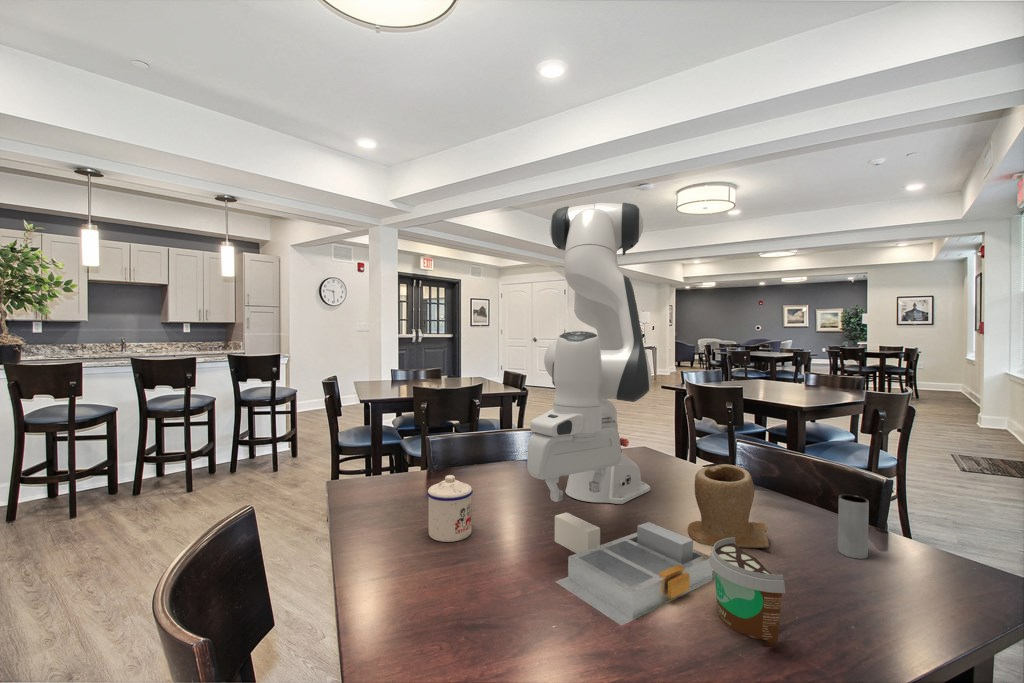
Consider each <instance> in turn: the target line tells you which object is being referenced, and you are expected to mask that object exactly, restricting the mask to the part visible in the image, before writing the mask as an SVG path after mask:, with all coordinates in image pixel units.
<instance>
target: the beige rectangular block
mask: <svg viewBox="0 0 1024 683" xmlns="http://www.w3.org/2000/svg"><path fill="white" fill-rule="evenodd" d="M554 542H555V543H557V544H558V545H560V546H563V547H564V548H566V549H568V550H570V551H571V552H572V553H574V554H577V553H579V552H582V551H585V550H588V549H591V548H594V547H597V546H599V545H601V527H599V526H597V525H594V524H593V523H590V522H588V521H586V520H584V519H582V518H579V517H577V516H575V515H573V514H572V513H569V512H562V513H560V514H556V515H554Z"/></svg>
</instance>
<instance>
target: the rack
mask: <svg viewBox="0 0 1024 683" xmlns="http://www.w3.org/2000/svg"><path fill="white" fill-rule="evenodd" d="M709 559H710V555H708V554H706V553H704V552H701V551H699V550H696V549H694V548H693V560H692V561H689V562H687V563H685V564H681V563H679V562H677V561H675V560H673V559H670V558H668V557H666V556H664V555H662V554H660V553H657V552H655V551H653V550H651V549H649V548H646V547H644V546H642V545H640V544H638V543H637V532H634V533H631V534H628V535H625V536H623V537H620V538H617V539H614V540H612V541H611V540H610V541H609V542H605V543H602V544H600V545H599V546H597V547H594V548H591V549H588V550H585V551H582V552H579V553H577V554H576V553H574V554H571V555H569V556H568V558H567V560H568V562H567V566H568V568H567V574H568V575H567V576H566V577H564V578H561V579H558V580H555V583H556V584H558V585H559V586H561V587H562V588H563V589H565V590H567V591H568V592H570V593H572V594H573V595H575V597H577V598H579V599H580V600H582V601H583V602H584V603H587V604H588V605H590V606H591V607H593V608H594V609H595V610H597V611H598V612H600V613H602V614H603V615H604V616H606V617H608V618H609V619H610V620H612V621H614V623H617V624H618V625H619V626H622V627H623V626H624V625H626V624H628V623H630V622H632V621H634V620H636V619H638V618H640V617H642V616H643V615H646V614H649V613H650V612H652V611H654V610H656V609H658V608H660V607H662V606H664V605H666V604H668V603H670V602H672V601H674V600H676V599H678V598H680V597H682V596H685V595H686V594H689V593H691V592H693V591H694V590H696V589H698V588H700V587H701V586H704V585H707V584H708V583H710V582H712V581H715V571H714V570H713V569H712V568H711V566H710V564H709Z"/></svg>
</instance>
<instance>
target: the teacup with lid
mask: <svg viewBox="0 0 1024 683" xmlns="http://www.w3.org/2000/svg"><path fill="white" fill-rule="evenodd" d="M426 493H427V494H426V495H427V497H428V536H429V537H430V538H431V539H433V540H435V541H437V542H443V543H444V542H445V543H446V542H447V543H451V542H459V541H462V540H465V539H466V538H468V537H469V536H471V534H472V494H473V493H474V492H473V488H472V486H471V485H470V484H468V483H466V482H461V481H459V480H457V479H456V477H455V476H454V475H452V474H449V475H445V477H444V480H442V481H440V482H439V483H436V484H433V485H431V486H430V487H429V488H428V490H427V492H426Z"/></svg>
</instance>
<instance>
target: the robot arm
mask: <svg viewBox="0 0 1024 683" xmlns="http://www.w3.org/2000/svg"><path fill="white" fill-rule="evenodd" d="M643 230H644V218H643V215H642V213H641V211H640V208H639V206H638V205H636V204H634V203H629V202H622V203H615V202H611V203H610V202H596V203H590V204H581V205H576V206H575V205H574V206H571V207H570V206H569V205H567V206H563V207H559V208H557V209H556V210H555V211H554V212H553V213H552V216H551V220H550V222H549V236H550V238H551V242H552V244H553V245H554V246H555V248H557V249H558V250H561V251H564V259H563V260H564V278H565V281H566V283H567V284H568V286H569V287H570V289H572V290H573V291H574V306H573V307H574V309H573V312H574V315H575V317H576V318H577V319H578V320H579V321H580V322H582V323H584V324H586V325H588V326H589V327H591V328H594V329H595V330H596V332H597V333H594V332H590V331H567V332H563V333H562V334H560V335H559V336H558V337H557V341H553V342H551V343H550V344H549V345H548V347H547V348H546V351H545V353H544V358H543V360H544V361H543V362H544V363H543V364H544V368H545V370H546V372H547V374H548V375H549V376H550V377H551V379H552V380H551V381H552V382H551V383H552V385H553V386H554V388H555V389H554V390H555V392H554V393H555V394H554V399H553V401H552V406H553V407H552V409H550V410H548V411H546V412H545V413H543V414H540V415H538V416H537V417H534V418H533V419H531V421H530V423H529V426H530V431H531V432H534V433H532V434H531V436H530V438H529V441H528V447H527V459H526V463H527V473H529V475H530V476H531V477H534V478H535V479H539V480H542V481H543V480H544V482H545V483H546V485H547V487H548V489H549V491H550V492H549V493H550V496H549V497H550V500H551V501H553V502H555V503H556V502H561V501H563V500H564V497H563V496H564V491H563V490H561V489H559V486H558V483H559V481H560V477H564V476H568V479H567V481H566V488H565V494H566V495H567V496H568V497H570V498H573V499H576V500H578V501H582V502H589V503H602V504H603V503H605V504H606V503H609V504H616V505H622V504H625V503H627V502H629V501H631V500H633V499H635V498H638V497H640V496H642V495H643V494H646V493H647V492H648V493H649V492H650V491H651V486H650V485H649V484H648V483H646V482H644V481H642V478H641V476H642V475H641V470H640V467H639V465H638V464H637V463H636V462H634V461H633V460H632V459H630V457H628V456H627V455H626V454H625V453H624V452H623V449H622V447H624V448H628V446H629V444H630V441H629V439H628V438H623V437H621V438H620V433H619V431H618V430H619V428H618V427H619V425H618V422H617V421H618V411H617V408H616V406H615V404H613V402H611V400H617V401H623V402H624V401H625V402H632V403H635V402H637V401H639V400H640V399H641V398H643V397H645V395H646V394H648V393H649V392H650V388H651V386H652V385H651V384H652V370H651V366H650V363H649V357H648V356H649V355H648V353H647V350H646V349H645V346H644V337H643V332H642V328H641V327H642V326H641V321H640V315H639V310H638V305H637V301H636V297H635V296H636V295H635V292H634V291H635V290H634V287H633V284H632V281H631V280H630V278H629V277H628V276H627V275H624V274H622V272H621V271H620V269H619V263H618V256H617V255H618V253H617V252H618V251H620V250H622V256H626V252H627V251H629V250H632V249H633V248H634V247H636V245H637V244H638V243H639V240H640V239H641V236H642V234H643Z"/></svg>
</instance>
